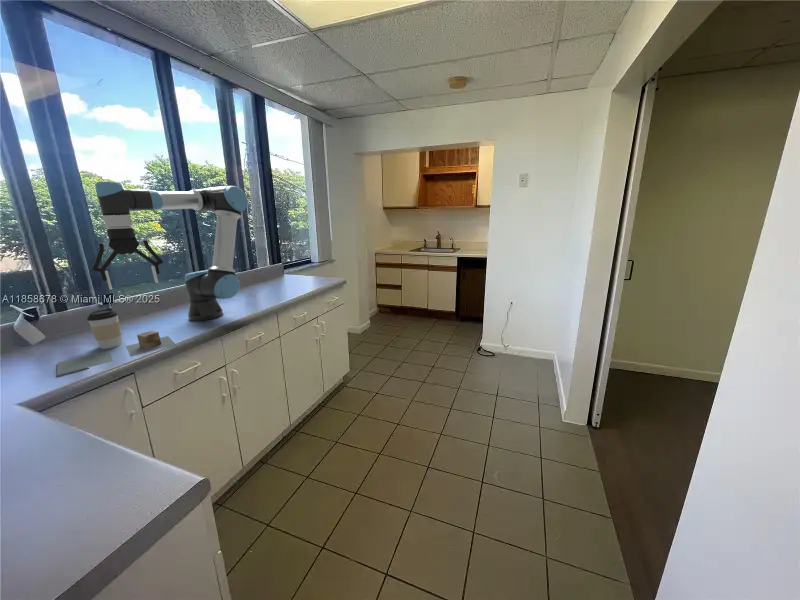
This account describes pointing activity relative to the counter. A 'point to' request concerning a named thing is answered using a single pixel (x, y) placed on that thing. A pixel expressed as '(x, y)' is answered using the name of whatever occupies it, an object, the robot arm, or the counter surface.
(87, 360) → the pad
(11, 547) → the counter surface
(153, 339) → the walnut block
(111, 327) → the coffee cup
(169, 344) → the pad
